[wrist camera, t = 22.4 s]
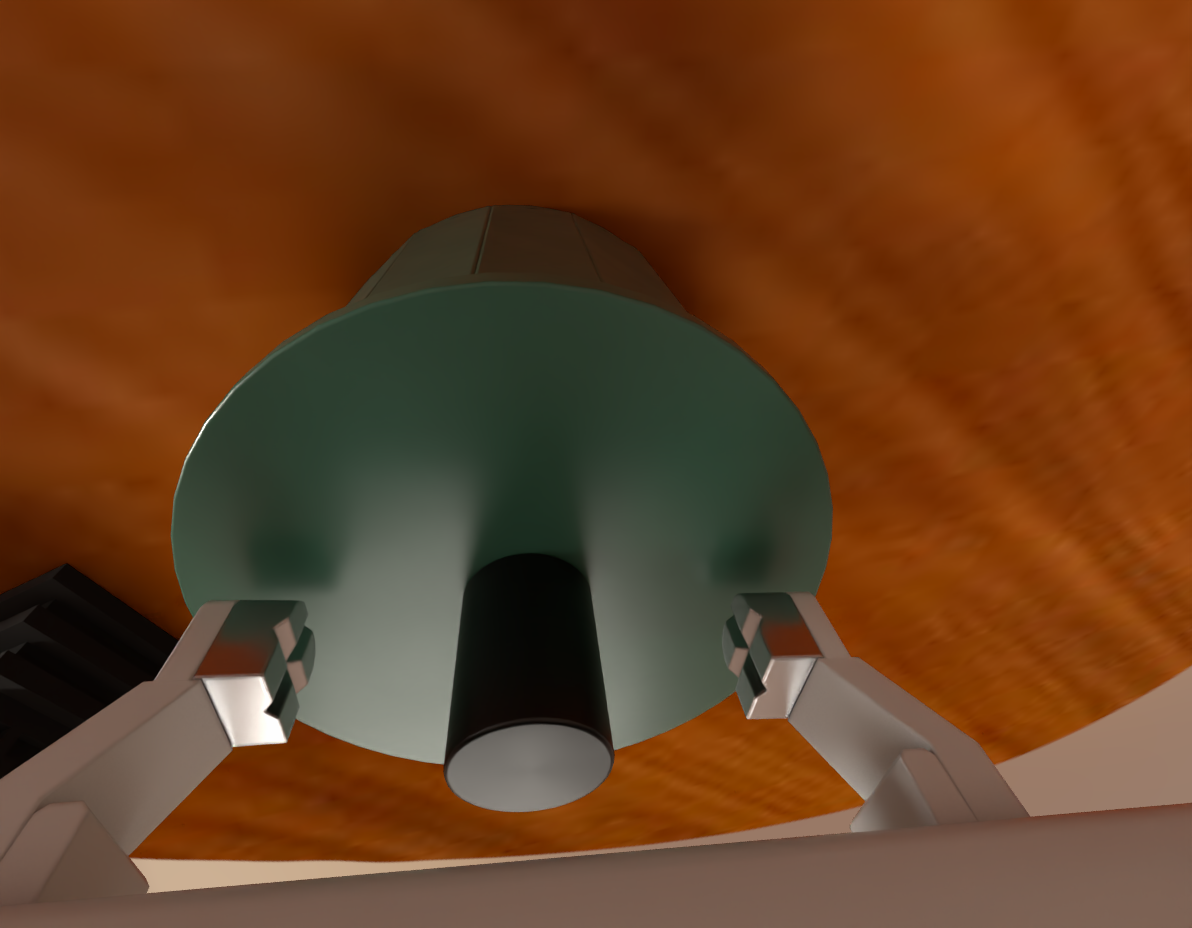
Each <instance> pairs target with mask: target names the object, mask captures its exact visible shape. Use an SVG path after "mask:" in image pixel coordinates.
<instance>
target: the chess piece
mask: <svg viewBox="0 0 1192 928" xmlns="http://www.w3.org/2000/svg"><path fill="white" fill-rule="evenodd" d="M178 642H179V641H177V640H176V639H174V638H173V637H171V636H170V635H169V634H167V633H166V632H164V631H163V630H161V629H160V628H159V627H157V626H156V625H154V624H153V623H151V622H150V621H148V620H147V619H146V618H144V617H143V616H141V615H140V614H138V613H137V612H135V611H134V610H133V609H131V608H130V607H128V606H127V605H125V604H124V603H123V602H121V601H120V600H118V599H117V598H115V597H114V596H112V595H111V594H110V593H108V592H107V591H105V590H104V589H102V588H101V587H100V586H98V585H97V584H95V583H94V582H92V581H91V580H89V579H88V578H87V577H85V576H84V575H82V574H81V573H79V572H78V571H76V570H75V569H74V568H72V567H71V566H69V565H68V564H64V565H62V566H60V567H58V568H56V569H54V570H52V571H50V572H47V573H45V574H43V575H41V576H39V577H37V578H35V579H33V580H31V581H28V582H26V583H24V584H22V585H20V586H18V587H16V588H14V589H12V590H9V591H7V592H5V593H3V594H1V595H0V779H1V778H3V777H4V776H6V775H7V774H9V773H10V772H12V771H13V770H15V769H16V768H17V767H19V766H20V765H22V764H23V763H25V762H26V761H28V760H29V759H31V758H32V757H34V756H35V755H37V754H38V753H39V752H41V751H42V750H44V749H45V748H47V747H48V746H50V745H51V744H53V743H54V742H56V741H57V740H59V739H60V738H62V737H63V736H64V735H66V734H67V733H69V732H70V731H72V730H73V729H75V728H76V727H78V726H79V725H81V724H82V723H84V722H85V721H86V720H88V719H89V718H91V717H92V716H94V715H95V714H97V713H98V712H100V711H101V710H103V709H104V708H106V707H107V706H109V705H110V704H111V703H113V702H114V701H116V700H117V699H119V698H120V697H122V696H123V695H125V694H126V693H128V692H129V691H131V690H132V689H133V688H135V687H136V686H138V685H139V684H141V683H142V682H147V681H154V680H155V678H156V676H157V675H158V673H159V672H160V670H161V669H162V667H163V665H164V664H165V662H166V661H167V659H168V657H169V656H170V654H171V653H172V651H173V650H174V648H175V646H176V645H177V643H178Z"/></svg>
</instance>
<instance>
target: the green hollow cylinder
mask: <svg viewBox="0 0 1192 928" xmlns="http://www.w3.org/2000/svg"><path fill="white" fill-rule="evenodd" d="M486 272H502V273H548V274H554V275H561V276H568V277H575V278H582V279H589V280H596V281H600V282H604V283H607V284H611V285H614V286H618V287H621V288H625V289H628V290H632V291H635V292H639V293H642V294H646V295H649V296H651V297H653V298H656V299H658V300H660V301H662V302H665V303H667V304H669V305H671V306H674V307H676V308H678V309H680V310H683V311H685V312H687V311H686V310H685V309H684V308H683V306H682V305H681V304H680V302H679V301H678V300H677V299H676V297H675V296H674V295H673V294H672V292H671V291H670V290H669V288H668V287H667V286H666V285H665V283H664V282H663V281H662V280H661V278H660V277H659V276H658V274H657V273H656V272H655V271H654V269H653V268H652V267H651V266H650V264H649V263H648V262H647V260H646V259H645V258H644V257H643V255H642V254H641V253H640V252H639V251H638V250H637V249H636V248H634V247H633V246H631V245H629V244H627V243H626V242H624V241H622V240H621V239H619V238H618V237H616V236H615V235H613V234H612V233H610V232H609V231H607V230H606V229H604V228H602V227H600V226H598V225H596V224H594V223H592V222H590V221H588V220H585V219H583V218H581V217H579V216H577V215H576V214H574V213H571V214H570V213H569V212H563V211H559V210H555V209H549V208H543V207H537V206H525V205H502V206H497V205H494V206H492V207H491V206H487V207H484V208H479V209H475V210H472V211H468V212H464V213H460V214H457V215H454V216H452V217H449V218H447V219H445V220H443V221H440V222H438V223H436V224H433V225H431V226H430V227H427V228H424V229H421V230H419V231H418V232H417V233H414V234H413V235H412V236H411V237H410V238H409V239H408V240H407V241H406V242H405V243H404V244H403V245H402V246H401V247H400V248H399V249H398V250H397V251H396V252H395V253H394V254H393V255H392V256H391V257H390V258H389V260H388V261H387V262H386V263H385V264H384V265H383V266H382V267H381V268H380V269H379V270H378V271H377V272H376V273H375V274H374V275H373V276H372V277H371V278H370V279H369V280H368V281H367V282H366V283H365V284H364V285H363V287H362V288H361V289H360V290H359V291H358V293H357V294H356V295H355V296H354V297H353V299H352V300H351V301H350V302H349V303H348V305H351V304H353V303H356V302H358V301H360V300H363V299H365V298H367V297H370V296H372V295H374V294H377V293H381V292H385V291H388V290H392V289H396V288H400V287H403V286H407V285H411V284H415V283H418V282H422V281H426V280H430V279H437V278H445V277H453V276H461V275H470V274H478V273H486ZM348 305H347V306H348Z"/></svg>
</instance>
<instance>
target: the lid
mask: <svg viewBox="0 0 1192 928" xmlns="http://www.w3.org/2000/svg"><path fill="white" fill-rule="evenodd" d="M832 511H833V506H832V499H831V493H830V486H829V479H828V473H827V470H826V467H825V464H824V461H823V459H822V456H821V453H820V450H819V447H818V444H817V441H816V439H815V438H814V436H813V434H812V432H811V430H810V429H809V427H808V425H807V423H806V421H805V420H804V418H803V416H802V414H801V412H800V411H799V409H798V408H797V407H796V405H795V404H794V403H793V402H792V401H791V399H790V398H789V397H788V396H787V394H786V393H785V392H784V391H783V389H782V388H781V387H780V386H779V385H778V383H777V382H776V381H775V380H774V378H773V377H772V376H771V375H770V374H769V373H768V372H767V371H766V370H765V369H764V368H763V367H762V366H761V365H760V364H759V363H758V362H757V361H755V360H754V359H753V358H752V357H751V356H750V355H749V354H748V353H746V352H745V351H744V350H743V349H742V348H741V347H740V346H738V345H737V344H736V343H735V342H734V341H733V340H731V339H730V338H728V337H727V336H725V335H724V334H722V333H720V332H719V331H717V330H716V329H714V328H713V327H711V326H709V325H708V324H706V323H705V322H703V321H702V320H700V319H698V318H697V317H695V316H694V315H692V314H689V313H687V312H685V311H683V310H680V309H678V308H676V307H674V306H671V305H669V304H667V303H665V302H662V301H660V300H658V299H656V298H653V297H651V296H649V295H646V294H642V293H639V292H635V291H632V290H628V289H625V288H621V287H618V286H614V285H611V284H607V283H604V282H600V281H596V280H589V279H582V278H575V277H568V276H561V275H554V274H548V273H502V272H486V273H478V274H470V275H461V276H453V277H445V278H437V279H430V280H426V281H422V282H418V283H415V284H411V285H407V286H403V287H400V288H396V289H392V290H388V291H385V292H381V293H377V294H374V295H372V296H370V297H367V298H365V299H363V300H360V301H358V302H356V303H353V304H351V305H348V306H346V307H344V308H341V309H339V310H337V311H334V312H332V313H330V314H327V315H325V316H324V317H322V318H320V319H319V320H317V321H316V322H314V323H312V324H311V325H309V326H308V327H306V328H304V329H303V330H301V331H299V332H298V333H296V334H295V335H293V336H291V337H290V338H288V339H286V340H285V341H283V342H282V343H281V344H280V345H278V346H277V347H276V348H275V349H274V350H273V351H271V352H270V353H269V354H268V355H267V356H266V357H265V358H263V359H262V360H261V361H260V362H259V363H258V364H256V365H255V366H254V367H253V368H252V369H251V370H250V371H248V372H247V373H246V374H245V375H244V376H243V377H242V378H241V379H240V380H239V381H238V382H237V383H236V384H235V385H234V386H233V388H232V389H231V390H230V391H229V393H228V394H227V395H226V396H225V397H224V399H223V400H222V401H221V402H220V404H219V405H218V406H217V407H216V409H215V410H214V411H213V412H212V414H211V415H210V416H209V417H208V418H207V420H206V421H205V423H204V424H203V426H202V428H201V430H200V432H199V434H198V436H197V438H196V439H195V441H194V443H193V445H192V447H191V449H190V451H189V453H188V454H187V456H186V458H185V461H184V465H183V468H182V471H181V475H180V478H179V481H178V485H177V488H176V491H175V495H174V503H173V514H172V526H171V541H172V550H173V558H174V567H175V572H176V575H177V578H178V581H179V584H180V588H181V591H182V594H183V597H184V600H185V603H186V605H187V607H188V609H189V611H190V612H191V614H192V616H193V618H194V616H195V615H196V613H197V612H198V610H199V608H200V607H201V606H202V605H204V604H205V603H206V602H208V601H209V600H300V601H304V602H305V605H306V608H307V611H308V617H307V619H306V622H305V624H304V625H305V626H306V627H308V628H309V629H310V630H312V631H313V634H314V638H315V649H316V654H315V660H314V666H313V671H312V674H311V677H310V680H309V683H308V684H307V685H306V686H305V687H304V688H303V689H302V690H300V691H299V692H298V693H297V694H296V696H297V699H298V702H299V706H300V708H299V710H298V713H297V716H296V719H297V720H299V721H301V722H303V723H305V724H307V725H309V726H311V727H313V728H315V729H317V730H319V731H321V732H323V733H325V734H328V735H330V736H333V737H335V738H338V739H340V740H343V741H346V742H348V743H351V744H354V745H356V746H359V747H363V748H366V749H370V750H373V751H377V752H380V753H384V754H387V755H391V756H396V757H401V758H406V759H411V760H416V761H421V762H428V763H437V764H444V771H443V772H444V776H445V780H446V782H447V784H448V787H449V788H450V789H451V790H452V792H453V793H455V794H456V795H457V796H458V797H459V798H461V799H463V800H464V801H466V802H468V803H470V804H473V805H475V806H478V807H482V808H486V809H490V810H496V811H505V812H529V811H538V810H544V809H549V808H554V807H558V806H561V805H564V804H567V803H570V802H573V801H575V800H577V799H579V798H581V797H584V796H585V795H587V794H589V793H590V792H592V791H593V790H595V789H596V788H597V787H599V786H600V785H601V784H602V783H603V782H604V781H605V779H606V778H607V777H608V775H609V774H610V772H611V770H612V767H613V763H614V756H615V755H614V750H617V749H620V748H623V747H626V746H629V745H632V744H636V743H639V742H641V741H644V740H646V739H649V738H651V737H654V736H656V735H659V734H661V733H664V732H666V731H669V730H671V729H673V728H675V727H677V726H679V725H681V724H683V723H685V722H687V721H689V720H691V719H693V718H695V717H697V716H698V715H700V714H702V713H703V712H705V711H707V710H708V709H710V708H712V707H713V706H715V705H717V704H718V703H720V702H721V701H723V700H724V699H725V698H727V697H728V696H730V695H731V694H732V693H734V692H735V691H736V689H735V688H736V685H737V682H738V680H739V678H738V677H737V676H736V675H735V674H734V673H733V672H731V671H730V670H729V669H728V667H727V664H726V661H725V659H724V654H723V649H722V632H723V628H724V625H725V622H726V621H727V620H728V619H729V618H731V617H732V616H733V615H734V614H733V611H732V609H731V607H730V606H731V604H732V601H733V598H734V597H735V596H736V595H737V594H738V593H764V592H783V593H784V592H810V593H811V594H812V595H814V597H815V596H816V593H817V590H818V588H819V585H820V582H821V580H822V577H823V574H824V571H825V569H826V565H827V560H828V554H829V549H830V544H831V539H832Z"/></svg>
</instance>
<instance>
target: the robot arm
mask: <svg viewBox="0 0 1192 928" xmlns="http://www.w3.org/2000/svg"><path fill="white" fill-rule="evenodd" d="M730 607H731V609H732V611H733V614H734V615H733V616H732V617H731V618H729V619H728V620H727V621H726V622H725V625H724V628H723V632H722V649H723V654H724V659H725V661H726V664H727V667H728V669H729V670H730V671H731V672H733V673H734V674H735V675H736V676H737V677H738V678H739V680H738V682H737V685H736V688H735V689H736V692H737V694H738V697H739V700H740V703H741V705H742V708H743V711H744V713H745V716H746V719H772V718H789V719H788V721H789V722H790V723H791V724H792V725H793V726H794V727H795V729H796V730H797V731H798V732H799V733H800V734H801V735H802V736H803V737H804V738H805V739H806V740H807V741H808V742H809V743H810V744H811V745H812V746H813V747H814V748H815V749H816V750H817V751H818V752H819V753H820V754H821V756H822V757H823V758H824V759H825V760H826V761H827V762H828V763H829V764H830V765H831V766H832V767H833V768H834V769H835V770H836V771H837V772H838V773H839V774H840V775H841V776H842V777H843V778H844V779H845V780H846V781H847V783H848V784H849V785H850V786H851V787H852V788H853V789H854V790H855V791H856V792H857V793H858V794H859V795H860V796H861V797H862V798H863V799H864V800H865V803H864V804H863V806H862V807H861V808H860V810H859V811H858V813H857V814H856V816H855V817H854V818H853V820H852V822H851V825H850V829H851V831H852V832H851V833H841V834H829V835H817V836H806V837H794V838H782V839H770V840H759V841H747V842H736V843H724V844H713V845H700V846H689V847H677V848H665V849H655V850H642V851H631V852H619V853H607V854H596V855H585V856H574V857H561V858H551V859H550V858H549V859H538V860H526V861H515V862H503V863H492V864H480V865H469V866H457V867H445V868H434V869H423V870H411V871H399V872H389V873H376V874H365V875H353V876H342V877H331V878H319V879H307V880H296V881H284V882H273V883H262V884H250V885H239V886H227V887H216V888H204V889H192V890H182V891H170V892H158V893H147V891H148V888H149V885H148V882H147V880H146V878H145V876H144V875H143V874H142V873H141V872H140V870H139V869H138V868H137V867H136V865H135V864H134V863H133V862H132V860H131V859H130V858H129V857H128V856H129V855H130V854H131V853H132V852H133V851H134V850H135V849H136V848H137V847H138V845H139V844H140V843H141V842H142V841H143V840H144V839H145V838H146V837H147V836H148V835H149V834H150V833H151V832H152V831H153V830H154V829H155V828H156V827H157V826H158V825H159V824H160V823H161V822H162V821H163V820H164V819H165V818H166V817H167V816H168V815H169V814H170V813H171V812H172V811H173V810H174V809H175V808H176V807H177V806H178V805H179V804H180V803H181V802H182V801H183V800H184V799H185V798H186V797H187V796H188V795H189V794H190V793H191V792H192V791H193V790H194V789H195V788H196V787H197V786H198V784H199V783H200V782H201V781H202V780H203V779H204V778H205V777H206V776H207V775H208V774H209V773H210V772H211V771H212V770H213V769H214V768H215V767H216V766H217V765H218V764H219V763H220V762H221V761H222V760H223V759H224V758H225V757H226V756H227V755H228V754H229V753H230V752H231V751H232V747H237V746H250V745H262V744H275V743H287V740H288V738H289V735H290V732H291V729H292V727H293V724H294V721H295V719H296V716H297V713H298V710H299V708H300V706H299V702H298V699H297V696H296V694H297V693H298V692H299V691H300V690H302V689H303V688H304V687H305V686H306V685H307V684H308V683H309V680H310V677H311V674H312V671H313V666H314V660H315V654H316V649H315V638H314V634H313V631H312V630H310V629H309V628H308V627H306V626H305V625H304V624H305V622H306V619H307V617H308V611H307V608H306V605H305V602H304V601H300V600H209V601H208V602H206V603H205V604H204V605H202V606H201V607H200V608H199V610H198V612H197V613H196V615H195V616H194V618H193V619H192V621H191V623H190V624H189V626H188V627H187V629H186V631H185V632H184V634H183V635H182V637H181V638H180V640H179V642H178V643H177V645H176V646H175V648H174V650H173V651H172V653H171V654H170V656H169V657H168V659H167V661H166V662H165V664H164V665H163V667H162V669H161V670H160V672H159V673H158V675H157V676H156V678H155V680H154V681H147V682H142V683H141V684H139V685H138V686H136V687H135V688H133V689H132V690H131V691H129V692H128V693H126V694H125V695H123V696H122V697H120V698H119V699H117V700H116V701H114V702H113V703H111V704H110V705H109V706H107V707H106V708H104V709H103V710H101V711H100V712H98V713H97V714H95V715H94V716H92V717H91V718H89V719H88V720H86V721H85V722H84V723H82V724H81V725H79V726H78V727H76V728H75V729H73V730H72V731H70V732H69V733H67V734H66V735H64V736H63V737H62V738H60V739H59V740H57V741H56V742H54V743H53V744H51V745H50V746H48V747H47V748H45V749H44V750H42V751H41V752H39V753H38V754H37V755H35V756H34V757H32V758H31V759H29V760H28V761H26V762H25V763H23V764H22V765H20V766H19V767H17V768H16V769H15V770H13V771H12V772H10V773H9V774H7V775H6V776H4V777H3V778H1V779H0V928H1192V803H1185V804H1175V805H1174V804H1173V805H1162V806H1150V807H1139V808H1127V809H1115V810H1105V811H1093V812H1081V813H1069V814H1058V815H1047V816H1035V817H1030V816H1029V814H1028V812H1027V811H1026V810H1025V808H1024V807H1023V805H1022V804H1021V803H1020V801H1019V800H1018V798H1017V797H1016V796H1015V794H1014V793H1013V791H1012V790H1011V789H1010V787H1009V786H1008V784H1007V783H1006V781H1005V780H1004V779H1003V777H1002V776H1001V775H1000V773H999V772H998V770H997V769H996V767H995V766H994V765H993V763H992V762H991V760H990V759H989V758H988V756H987V755H986V753H985V752H984V750H983V749H982V748H981V746H980V745H979V743H977V742H976V741H975V740H973V739H972V738H970V737H969V736H968V735H966V734H965V733H963V732H962V731H961V730H959V729H958V728H956V727H955V726H954V725H952V724H951V723H949V722H948V721H947V720H945V719H944V718H942V717H941V716H940V715H938V714H937V713H935V712H934V711H933V710H931V709H930V708H928V707H927V706H926V705H924V704H923V703H921V702H920V701H919V700H917V699H916V698H914V697H913V696H912V695H910V694H909V693H907V692H906V691H905V690H903V689H902V688H900V687H899V686H898V685H896V684H895V683H893V682H892V681H891V680H889V679H888V678H886V677H885V676H884V675H882V674H881V673H880V672H878V671H877V670H875V669H874V668H873V667H871V666H870V665H868V664H867V663H866V662H864V661H863V660H861V659H860V658H859V657H851V656H850V655H849V653H848V651H847V650H846V648H845V646H844V645H843V643H842V641H841V640H840V638H839V636H838V635H837V633H836V631H835V630H834V628H833V626H832V625H831V623H830V621H829V620H828V618H827V616H826V615H825V613H824V611H823V610H822V608H821V606H820V605H819V603H818V602H817V600H816V598H815V597H814V595H812V594H811V593H810V592H784V593H783V592H764V593H738V594H737V595H736V596H735V597H734V598H733V601H732V604H731V606H730Z"/></svg>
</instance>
